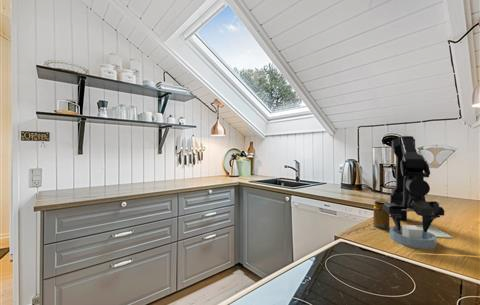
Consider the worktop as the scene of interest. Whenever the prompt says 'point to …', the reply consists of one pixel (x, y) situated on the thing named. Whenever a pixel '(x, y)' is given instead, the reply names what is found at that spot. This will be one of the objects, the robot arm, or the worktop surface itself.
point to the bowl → (413, 239)
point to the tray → (435, 232)
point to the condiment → (380, 216)
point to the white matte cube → (411, 231)
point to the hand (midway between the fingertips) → (411, 231)
